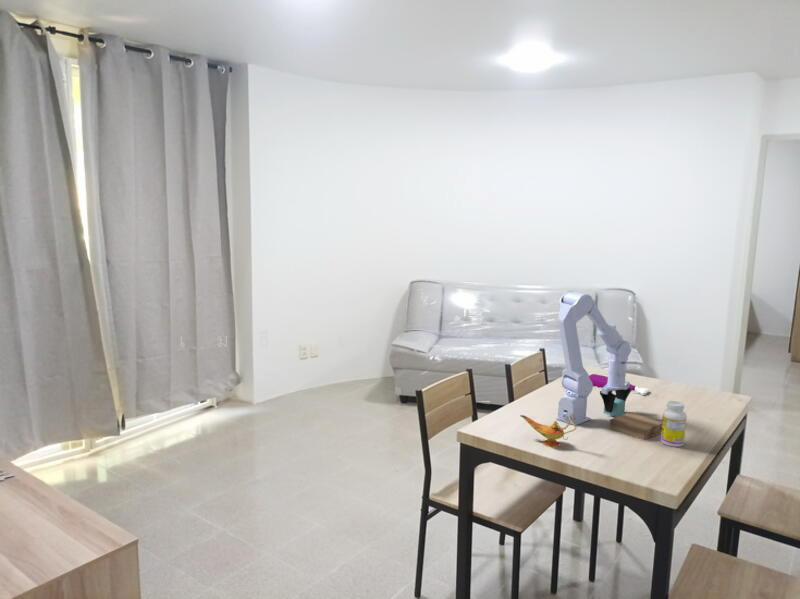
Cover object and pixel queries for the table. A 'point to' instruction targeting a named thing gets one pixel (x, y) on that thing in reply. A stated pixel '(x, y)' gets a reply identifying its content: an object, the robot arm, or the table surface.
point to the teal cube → (617, 408)
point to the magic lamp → (549, 431)
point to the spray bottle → (603, 380)
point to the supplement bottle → (674, 424)
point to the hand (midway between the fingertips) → (614, 409)
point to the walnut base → (636, 425)
